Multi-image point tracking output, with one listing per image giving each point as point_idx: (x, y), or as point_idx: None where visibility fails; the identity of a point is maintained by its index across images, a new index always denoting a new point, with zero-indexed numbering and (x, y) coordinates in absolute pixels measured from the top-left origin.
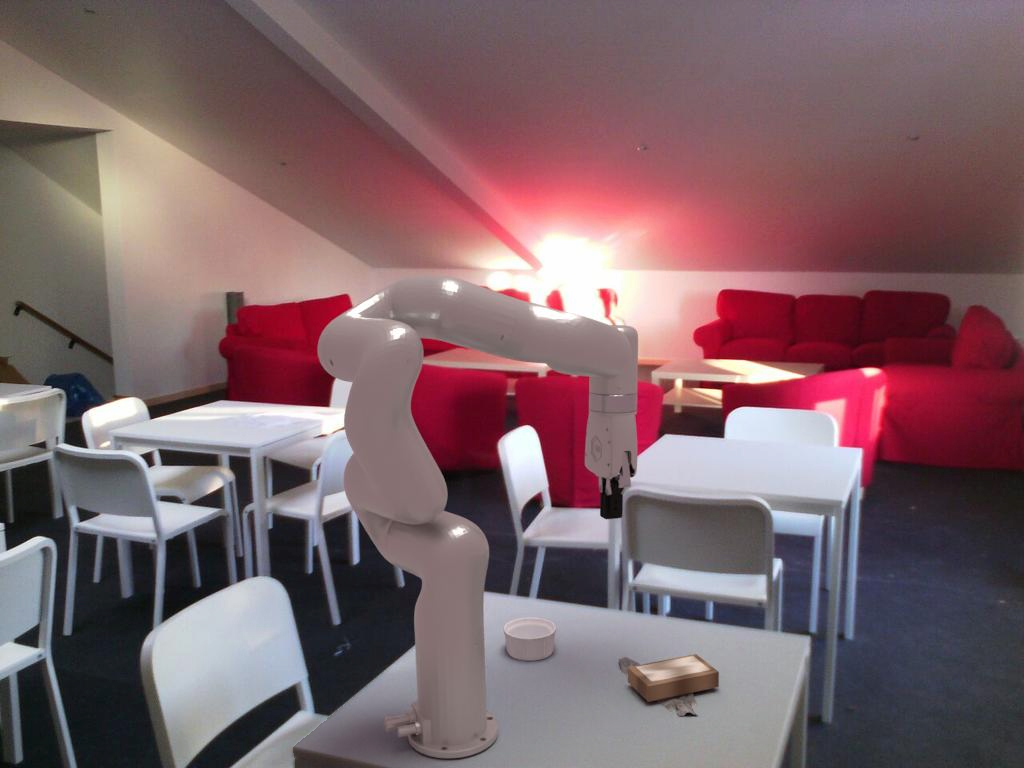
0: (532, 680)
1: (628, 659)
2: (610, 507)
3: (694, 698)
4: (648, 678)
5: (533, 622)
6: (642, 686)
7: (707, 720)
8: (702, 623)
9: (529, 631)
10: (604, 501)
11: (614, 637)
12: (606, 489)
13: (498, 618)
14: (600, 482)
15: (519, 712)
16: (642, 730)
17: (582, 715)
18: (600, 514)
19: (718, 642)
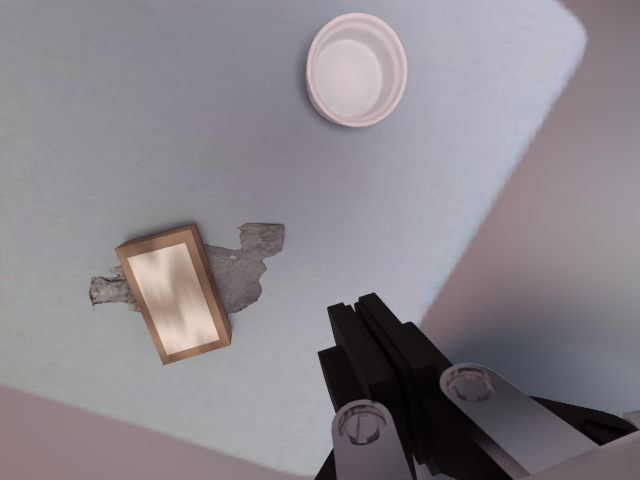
0: (233, 64)
1: (274, 240)
2: (332, 367)
3: None
4: (139, 255)
5: (395, 89)
6: (138, 241)
7: (80, 315)
8: None
9: (387, 83)
10: (354, 355)
11: (368, 235)
12: (385, 429)
13: (484, 44)
14: (510, 415)
15: (113, 16)
16: (47, 216)
17: (99, 129)
18: (372, 296)
19: (323, 377)
